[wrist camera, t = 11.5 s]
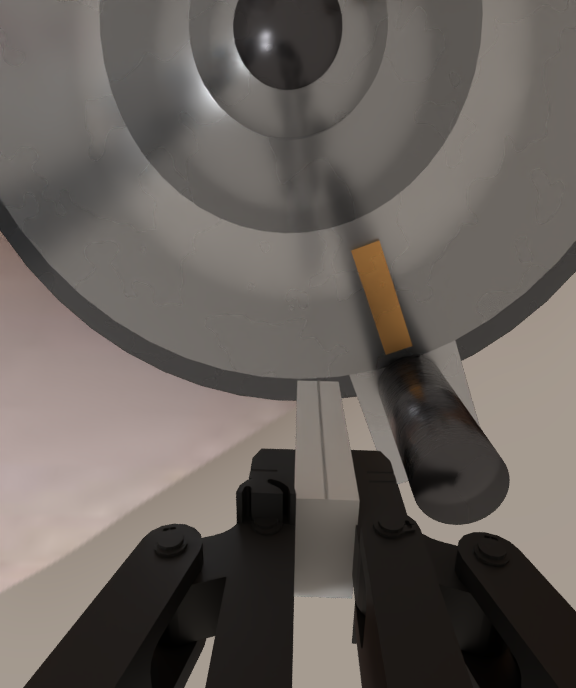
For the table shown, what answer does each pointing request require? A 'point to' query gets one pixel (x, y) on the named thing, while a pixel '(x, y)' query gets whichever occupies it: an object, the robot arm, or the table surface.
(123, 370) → the table surface
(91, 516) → the table surface
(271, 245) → the turntable
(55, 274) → the turntable base
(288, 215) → the cover
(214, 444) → the table surface
